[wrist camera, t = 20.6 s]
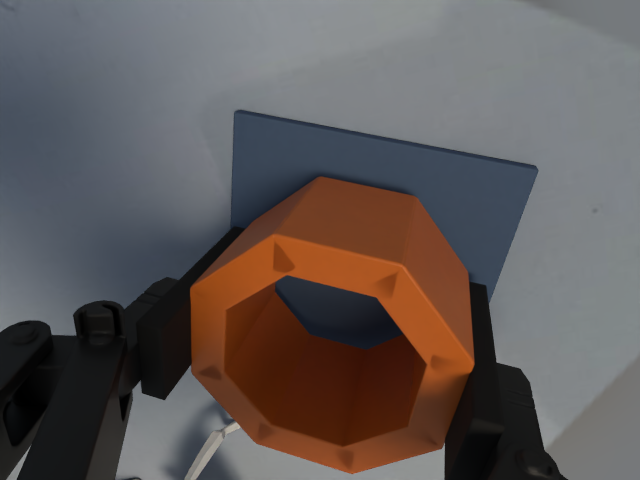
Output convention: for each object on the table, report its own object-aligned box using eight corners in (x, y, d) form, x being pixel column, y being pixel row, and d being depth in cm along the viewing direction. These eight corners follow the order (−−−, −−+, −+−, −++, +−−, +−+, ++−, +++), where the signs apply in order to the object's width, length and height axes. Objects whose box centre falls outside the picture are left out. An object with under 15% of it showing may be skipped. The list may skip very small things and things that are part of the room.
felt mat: (239, 109, 17) (233, 111, 17) (536, 165, 16) (539, 170, 15) (231, 331, 23) (226, 337, 22) (453, 393, 21) (453, 401, 20)
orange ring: (255, 161, 17) (187, 213, 12) (489, 210, 15) (504, 288, 11) (245, 337, 21) (191, 423, 16) (430, 389, 19) (424, 497, 15)
